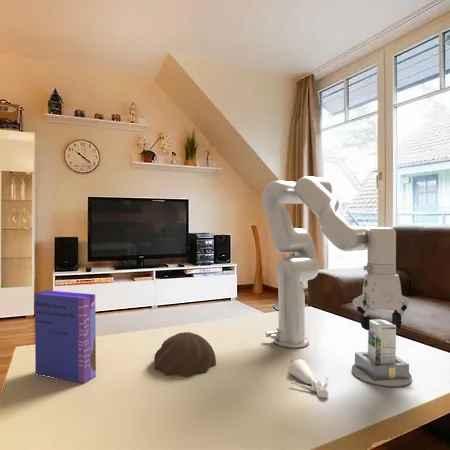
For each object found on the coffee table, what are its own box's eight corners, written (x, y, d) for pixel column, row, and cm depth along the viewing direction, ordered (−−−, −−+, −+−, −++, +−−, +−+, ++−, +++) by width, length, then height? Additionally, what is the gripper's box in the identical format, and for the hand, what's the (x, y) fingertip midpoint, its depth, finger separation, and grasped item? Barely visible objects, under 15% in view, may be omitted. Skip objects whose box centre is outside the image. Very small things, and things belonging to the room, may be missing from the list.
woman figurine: (312, 354, 109) (346, 384, 91) (311, 368, 109) (345, 401, 92) (276, 357, 106) (305, 390, 88) (276, 372, 106) (304, 407, 89)
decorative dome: (227, 359, 116) (227, 328, 116) (192, 383, 99) (192, 347, 99) (179, 348, 126) (179, 320, 126) (139, 369, 109) (139, 336, 108)
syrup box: (366, 367, 107) (367, 319, 107) (385, 366, 108) (385, 318, 107) (377, 376, 101) (377, 325, 101) (396, 375, 102) (396, 324, 102)
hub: (369, 389, 95) (370, 371, 95) (342, 365, 111) (342, 349, 111) (424, 385, 97) (424, 367, 97) (389, 362, 113) (389, 347, 113)
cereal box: (95, 376, 103) (95, 293, 103) (84, 383, 98) (83, 297, 98) (48, 368, 109) (47, 289, 108) (35, 374, 104) (34, 292, 104)
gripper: (360, 272, 99) (359, 333, 99) (417, 270, 101) (416, 330, 101) (347, 268, 106) (346, 325, 106) (400, 267, 109) (400, 323, 109)
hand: (381, 328), depth 104 cm, fingers open, 9 cm apart
